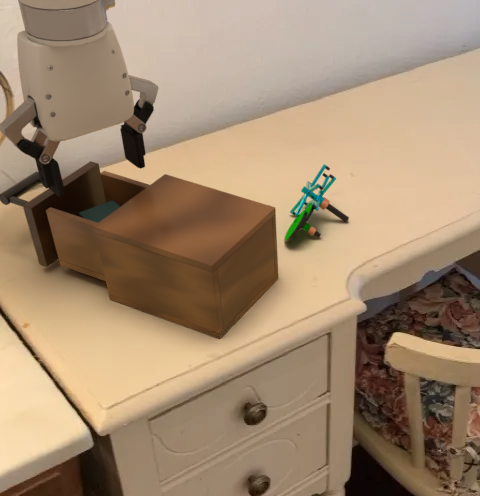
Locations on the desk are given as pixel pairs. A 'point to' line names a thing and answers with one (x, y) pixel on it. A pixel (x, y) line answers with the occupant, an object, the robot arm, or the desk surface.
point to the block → (99, 211)
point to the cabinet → (189, 254)
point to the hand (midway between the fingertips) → (96, 176)
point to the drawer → (71, 215)
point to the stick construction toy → (312, 206)
